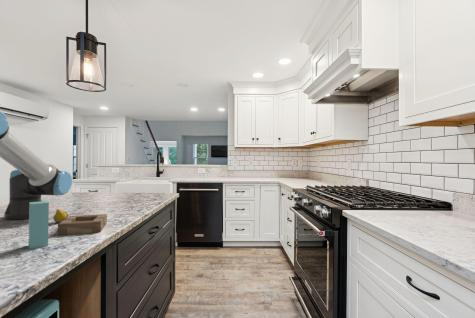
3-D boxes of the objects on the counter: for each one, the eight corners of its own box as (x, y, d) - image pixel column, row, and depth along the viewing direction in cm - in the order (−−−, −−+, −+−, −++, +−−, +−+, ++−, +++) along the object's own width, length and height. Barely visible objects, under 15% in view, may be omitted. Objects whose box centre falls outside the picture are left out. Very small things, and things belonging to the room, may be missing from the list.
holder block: (69, 225, 104) (69, 216, 104) (106, 223, 108) (106, 214, 108) (57, 235, 91) (57, 224, 91) (100, 232, 95) (100, 221, 95)
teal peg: (28, 245, 80) (29, 202, 80) (46, 242, 83) (46, 200, 83) (29, 249, 76) (30, 204, 76) (48, 245, 80) (48, 202, 80)
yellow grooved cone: (71, 221, 113) (67, 209, 106) (58, 228, 109) (53, 216, 102) (66, 213, 114) (61, 201, 108) (53, 220, 111) (47, 208, 104)
